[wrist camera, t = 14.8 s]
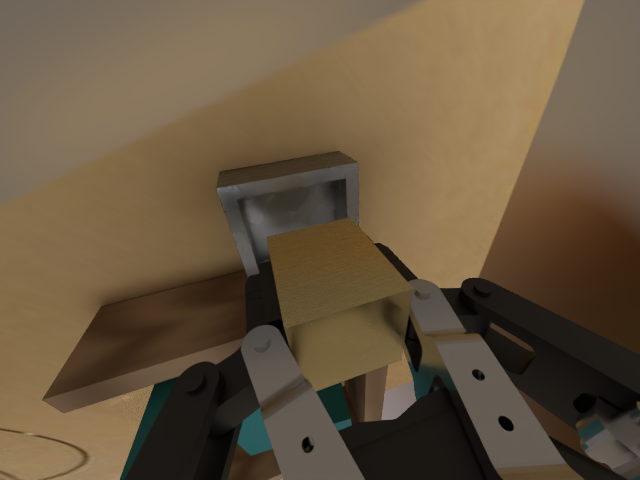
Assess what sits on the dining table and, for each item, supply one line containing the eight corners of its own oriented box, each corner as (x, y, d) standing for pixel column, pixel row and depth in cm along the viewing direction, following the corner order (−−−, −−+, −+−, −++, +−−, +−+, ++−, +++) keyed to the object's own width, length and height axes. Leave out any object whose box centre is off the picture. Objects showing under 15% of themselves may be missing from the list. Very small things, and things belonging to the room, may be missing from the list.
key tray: (252, 268, 18) (254, 296, 16) (219, 171, 14) (216, 188, 11) (343, 245, 19) (358, 267, 17) (339, 151, 15) (358, 162, 13)
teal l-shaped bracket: (182, 308, 19) (115, 491, 10) (312, 275, 20) (350, 418, 11) (252, 403, 29) (248, 535, 20) (336, 378, 30) (366, 495, 21)
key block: (266, 236, 10) (284, 328, 6) (350, 217, 11) (413, 288, 7) (283, 298, 13) (303, 395, 9) (351, 278, 13) (401, 359, 9)
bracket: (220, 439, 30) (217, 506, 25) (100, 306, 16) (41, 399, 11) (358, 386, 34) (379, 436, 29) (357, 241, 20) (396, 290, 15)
